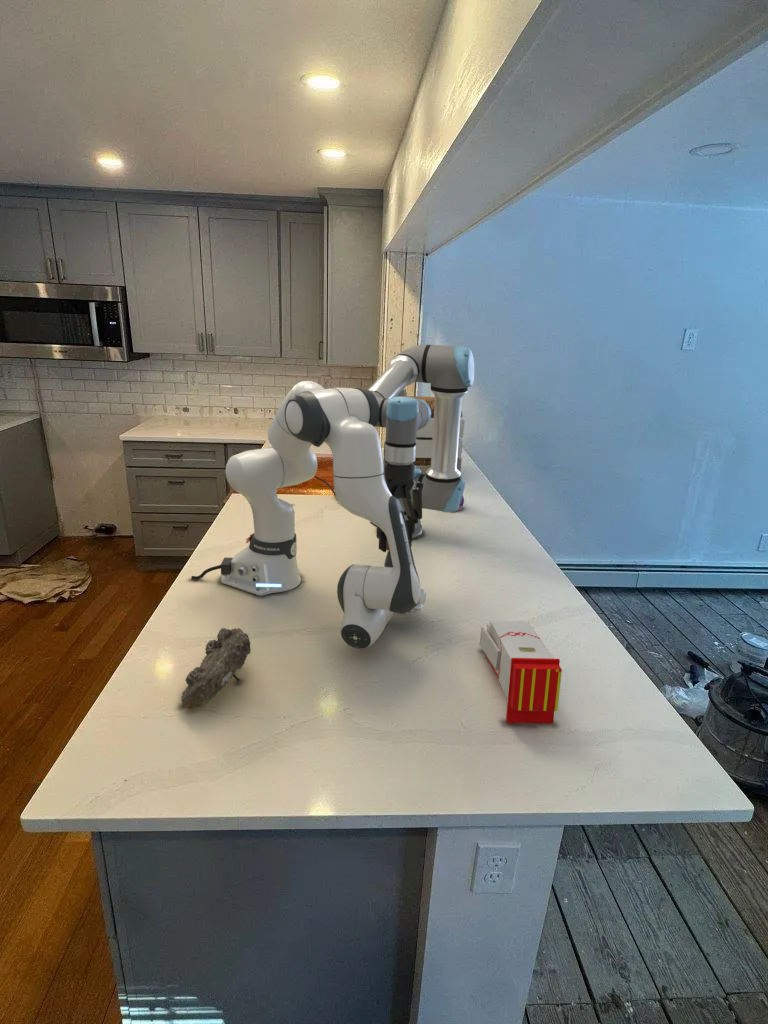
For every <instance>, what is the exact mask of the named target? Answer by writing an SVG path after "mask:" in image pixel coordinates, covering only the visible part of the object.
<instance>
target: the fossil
mask: <svg viewBox="0 0 768 1024" xmlns="http://www.w3.org/2000/svg"><path fill="white" fill-rule="evenodd" d="M216 638H217V639H211V640H208V642H207V643H206V645H205V656H204V658H203V659H202V662H201V663H200V666H196V667H194V668H193V669H192V670H191V671H189V673H188V674H187V675H186V678H185V680H184V681H185V682H186V684H187V687H186V688H185V689H184V690H183V691H182V693H181V697H180V698H181V704H182V706H183V707H187V708H188V709H194V708H199V707H205V705H207V704H208V703H209V702H210V701H211V700H212V699H213V698H215V697H216V696H217V694H219V693H220V692H221V691H222V690H223V689H224V688H225V687H227V684H229V681H230V680H231V679H233V678H234V679H235V680H236V681H237V682H240V680H241V679H240V678H239V677H238V676H237V675H236V673H237V671H238V670H240V669H242V667H243V666H244V665H245V661H246V660H247V657H248V655H250V654H251V653H252V652H251V651H252V648H251V645H252V643H251V641H250V637H249V634H247V633H246V632H244V631H243V630H242V629H241V628H239V627H238V628H236V627H235V628H231V629H228V628H225V627H224V628H220V630H219V631H218V633H217V636H216Z"/></svg>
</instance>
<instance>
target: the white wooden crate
mask: <svg viewBox="0 0 768 1024" xmlns="http://www.w3.org/2000/svg"><path fill="white" fill-rule="evenodd" d="M407 394H408V393H407V390H406V389H405V388H404V389H403V390H402V392H401V393H400V394H399V395H398V396H397V397H411V398H415V399H421V400H424V401H425V402H426V403H427V404H428V405H429V407H430V409H431V418H430V420H429V422H428V423H427V424H426V425H425V427H423V428H421V429H419V430H417V437H416V457H415V461H414V462H413V463H414V464H415V467H417V466H418V467H431V455H432V438H433V421H434V404H435V396H415V395H414V396H413V395H412V396H411V395H407ZM464 429H465V419H464V418H463V411H461V418H460V431H459V444H458V456H457V469H458V470H459V471H460V473H461V472H462V461H463V460H462V453H463V442H464V441H463V440H462V439H463V438H464V431H465V430H464ZM385 440H386V437H385V438H384V442H383V462H384V463H385V462H386V460H385ZM461 474H462V473H461Z"/></svg>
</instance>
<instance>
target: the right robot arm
mask: <svg viewBox="0 0 768 1024" xmlns="http://www.w3.org/2000/svg"><path fill="white" fill-rule="evenodd" d="M413 383H424V384H430V391H431V393H432V394H433V395H434V397H435V404H434V421H433V438H432V455H431V465H430V466H429V468H427V469H426V471H425V473H422V470H421V468H419V467H417V466H415V464H414V463H413V462H414V461H415V457H416V437H417V430H419V429H421V428H423V427H425V425H426V424H427V423H428V422H429V420H430V418H431V409H430V407H429V405H428V404H427V403H426V402H425V401H424V400H421V399H415V398H411V397H397V396H398V395H399V394H400V393H401V392H402V390H403V389H404V390H405V388H406V387H408V386H410V385H412V384H413ZM474 383H475V359H474V354H473V352H472V350H471V349H470V348H468V347H466V346H459V345H444V344H443V345H441V344H426V343H425V344H424V343H423V344H416V345H413V346H410V347H408V348H405V349H404V350H402V351H400V352H398V353H397V354H396V355H395V356H393V357H392V358H391V359H390V361H389V362H388V364H387V368H386V369H385V370H384V372H383V373H382V374H380V376H379V377H378V378H377V379H376V380H375V381H374V382H373V383H372V384H371V385H370V386H369V387H368V389H367V390H369V391H371V392H372V393H373V394H374V395H375V397H376V399H377V401H378V404H379V419H378V422H377V424H376V426H375V428H376V427H377V428H384V429H385V438H386V440H385V439H384V442H385V460H386V462H385V463H384V476H385V481H386V484H387V487H388V489H389V491H390V493H391V494H392V495H393V496H394V497H395V498H397V499H398V500H399V501H400V504H401V506H402V509H403V513H404V517H405V521H406V525H407V530H408V535H409V540H410V545H411V546H412V543H413V540H415V539H418V538H420V537H421V536H422V535H423V525H422V524H421V520H422V519H423V509H424V510H432V511H437V512H441V513H444V512H446V513H456V512H457V511H456V510H457V509H458V507H459V505H460V502H461V499H462V496H463V497H464V493H465V492H464V491H465V489H466V480H465V479H464V478H462V477H461V475H462V473H460V471H459V470H458V469H457V456H458V444H459V431H460V418H462V417H461V412H462V405H463V396H464V395H466V394H467V393H468V389H469V388H471V387H473V385H474ZM313 478H315V479H317V480H319V481H321V482H322V483H325V484H326V485H327V486H328V487H329V489H330V490H331V492H332V493H333V495H334V497H336V494H335V490H334V488H333V487H332V486H331V485H330V484H329V482H327V481H326V480H324V479H323V478H321V477H319V476H317V475H315V476H314V477H313ZM369 524H370V525H372V526H374V527H375V528H376V538H377V540H378V549H379V550H380V551H382V552H383V553H387V552H388V550H387V537H386V534H385V533H384V531H383V530H382V529H381V528H380V527H378V526H377V525H375V524H374V523H372V522H370V521H369Z"/></svg>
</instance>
